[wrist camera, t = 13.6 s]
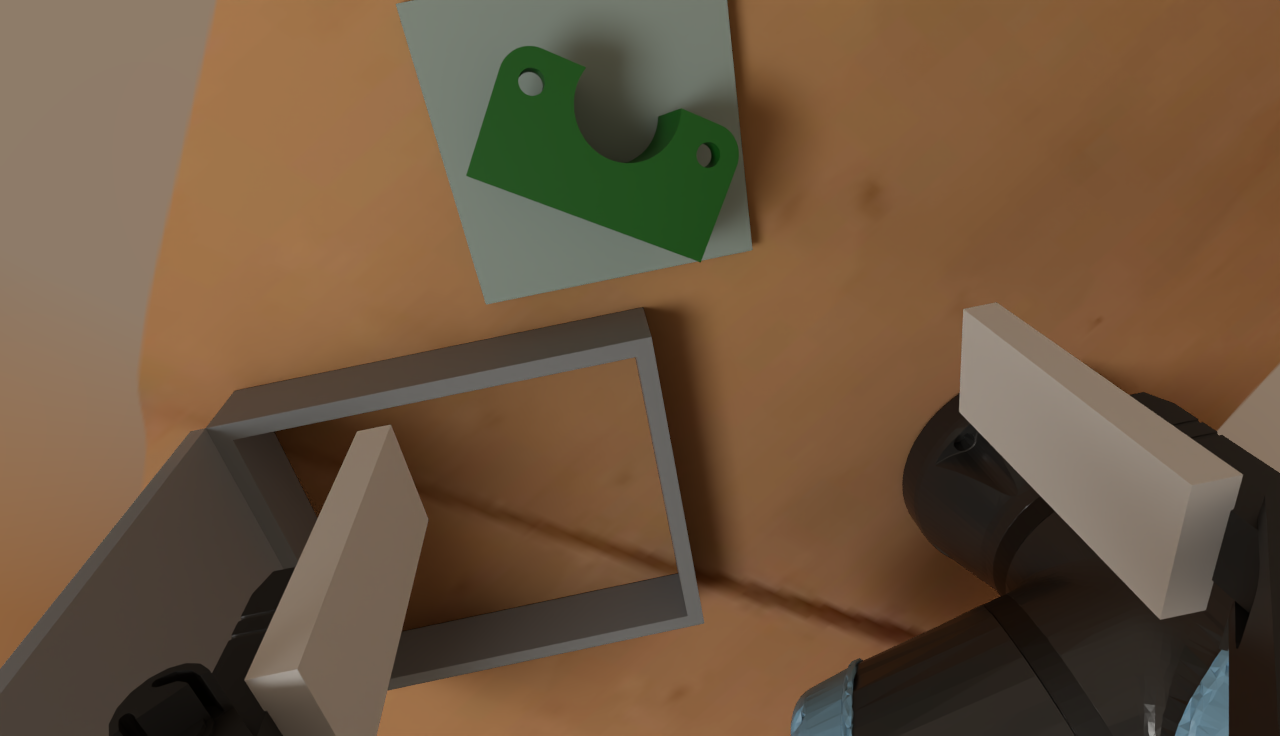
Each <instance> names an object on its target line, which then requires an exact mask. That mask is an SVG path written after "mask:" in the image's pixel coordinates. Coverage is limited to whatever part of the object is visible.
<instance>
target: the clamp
mask: <svg viewBox="0 0 1280 736" xmlns="http://www.w3.org/2000/svg"><path fill="white" fill-rule="evenodd" d="M585 68H586V67H584V66H582V65H579V64H577V63H575V62H572V61H570V60H568V59H565V58H563V57H561V56H559V55H556V54H554V53H552V52H549V51H547V50H545V49H542V48H539V47H536V46H523V47H519V48H517V49H515V50H513V51H512V52H510V53H509V54H508V55H507V56H506V57H505V58H504V60H503V61H502V63H501V66H500V68H499V71H498V75H497V78H496V81H495V84H494V88H493V91H492V94H491V97H490V100H489V104H488V107H487V110H486V113H485V116H484V120H483V123H482V126H481V129H480V132H479V136H478V139H477V142H476V145H475V149H474V152H473V155H472V158H471V161H470V165H469V168H468V171H467V174H466V176H468V177H470V178H473V179H476V180H479V181H481V182H484V183H487V184H489V185H492V186H495V187H498V188H500V189H503V190H506V191H508V192H511V193H514V194H517V195H519V196H522V197H525V198H527V199H530V200H533V201H535V202H538V203H541V204H544V205H546V206H549V207H552V208H554V209H557V210H560V211H563V212H565V213H568V214H571V215H573V216H576V217H579V218H582V219H584V220H587V221H590V222H592V223H595V224H598V225H601V226H603V227H606V228H609V229H611V230H614V231H617V232H620V233H622V234H625V235H628V236H630V237H633V238H636V239H639V240H641V241H644V242H647V243H649V244H652V245H655V246H658V247H660V248H663V249H666V250H668V251H671V252H674V253H677V254H679V255H682V256H685V257H687V258H690V259H693V260H695V261H698V262H701V260H702V258H703V255H704V252H705V250H706V247H707V244H708V242H709V239H710V236H711V234H712V231H713V229H714V226H715V223H716V221H717V218H718V215H719V213H720V210H721V207H722V205H723V202H724V199H725V197H726V194H727V191H728V189H729V186H730V183H731V181H732V178H733V175H734V173H735V170H736V167H737V164H738V160H739V149H738V145H737V142H736V140H735V138H734V136H733V135H732V133H731V132H730V131H729V130H728V129H726V128H725V127H723V126H721V125H719V124H717V123H715V122H712V121H710V120H708V119H705V118H703V117H701V116H698V115H696V114H694V113H691V112H689V111H687V110H684V109H682V108H680V109H678V110H675V111H672V112H669V113H667V114H664V115H661V116H658V123H657V128H656V132H655V135H654V137H653V139H652V141H651V143H650V144H649V146H648V147H647V148H646V150H645V151H644V152H643V153H642V154H640V155H639V156H638V157H636V158H635V159H633V160H631V161H629V162H626V163H621V162H616V161H613V160H610V159H608V158H606V157H604V156H602V155H600V154H599V153H598V152H596V151H595V150H594V149H593V148H592V147H591V146H590V145H589V144H588V143H587V142H586V140H585V139H584V137H583V136H582V134H581V132H580V130H579V127H578V125H577V122H576V118H575V112H574V95H575V90H576V87H577V83H578V81H579V79H580V77H581V75H582V73H583V71H584V70H585ZM526 72H532V73H535V74H536V75H538V76H539V77H540V79H541V81H542V84H543V89H542V92H541V93H540V94H538V95H535V96H530V95H527V94H525V93H524V92H523V91H522V90H521V89H520V87H519V84H518V79H519V77H520V76H521V75H522V74H523V73H526ZM702 144H705V145H706V146H707V147H708V148H709V149H710V151H711V160H710V162H709V164H708V165H707V166H705V167H703V166H701V165H700V164H699V162H698V160H697V156H696V154H697V150H698V148H699V147H700V145H702Z"/></svg>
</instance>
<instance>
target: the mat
mask: <svg viewBox="0 0 1280 736" xmlns="http://www.w3.org/2000/svg"><path fill="white" fill-rule="evenodd" d="M396 6H397V10H398V13H399V16H400V20H401V23H402V26H403V30H404V33H405V36H406V40H407V43H408V46H409V50H410V53H411V56H412V60H413V63H414V66H415V70H416V73H417V76H418V80H419V83H420V86H421V90H422V93H423V96H424V100H425V103H426V106H427V110H428V113H429V116H430V120H431V123H432V126H433V130H434V133H435V136H436V140H437V143H438V146H439V150H440V153H441V156H442V160H443V163H444V166H445V169H446V173H447V176H448V179H449V183H450V186H451V189H452V193H453V196H454V199H455V203H456V206H457V209H458V213H459V216H460V219H461V223H462V226H463V229H464V233H465V236H466V239H467V243H468V246H469V249H470V253H471V256H472V259H473V263H474V266H475V269H476V273H477V276H478V279H479V283H480V286H481V289H482V293H483V296H484V299H485V303H486V304H491V303H496V302H501V301H505V300H510V299H515V298H520V297H525V296H530V295H535V294H540V293H545V292H550V291H554V290H559V289H564V288H569V287H574V286H579V285H584V284H589V283H594V282H599V281H604V280H608V279H613V278H618V277H623V276H628V275H633V274H638V273H643V272H648V271H653V270H657V269H662V268H667V267H672V266H677V265H682V264H687V263H692V262H697V261H695V260H693V259H690V258H687V257H685V256H682V255H679V254H677V253H674V252H671V251H668V250H666V249H663V248H660V247H658V246H655V245H652V244H649V243H647V242H644V241H641V240H639V239H636V238H633V237H630V236H628V235H625V234H622V233H620V232H617V231H614V230H611V229H609V228H606V227H603V226H601V225H598V224H595V223H592V222H590V221H587V220H584V219H582V218H579V217H576V216H573V215H571V214H568V213H565V212H563V211H560V210H557V209H554V208H552V207H549V206H546V205H544V204H541V203H538V202H535V201H533V200H530V199H527V198H525V197H522V196H519V195H517V194H514V193H511V192H508V191H506V190H503V189H500V188H498V187H495V186H492V185H489V184H487V183H484V182H481V181H479V180H476V179H473V178H470V177H468V176H466V174H467V171H468V168H469V165H470V161H471V158H472V155H473V152H474V149H475V145H476V142H477V139H478V136H479V132H480V129H481V126H482V123H483V120H484V116H485V113H486V110H487V107H488V104H489V100H490V97H491V94H492V91H493V88H494V84H495V81H496V78H497V75H498V71H499V68H500V66H501V63H502V61H503V60H504V58H505V57H506V56H507V55H508V54H509V53H510V52H512V51H513V50H515V49H517V48H519V47H523V46H536V47H539V48H542V49H545V50H547V51H549V52H552V53H554V54H556V55H559V56H561V57H563V58H565V59H568V60H570V61H572V62H575V63H577V64H579V65H582V66H584V67H586V68H585V70H584V71H583V73H582V75H581V77H580V79H579V81H578V83H577V87H576V90H575V95H574V112H575V118H576V122H577V125H578V127H579V130H580V132H581V134H582V136H583V137H584V139H585V140H586V142H587V143H588V144H589V145H590V146H591V147H592V148H593V149H594V150H595V151H596V152H598V153H599V154H600V155H602V156H604V157H606V158H608V159H610V160H613V161H616V162H621V163H626V162H629V161H631V160H633V159H635V158H636V157H638V156H639V155H640V154H642V153H643V152H644V151H645V150H646V148H647V147H648V146H649V144H650V143H651V141H652V139H653V137H654V135H655V132H656V128H657V123H658V116H661V115H664V114H667V113H669V112H672V111H675V110H678V109H680V108H682V109H684V110H687V111H689V112H691V113H694V114H696V115H698V116H701V117H703V118H705V119H708V120H710V121H712V122H715V123H717V124H719V125H721V126H723V127H725V128H726V129H728V130H729V131H730V132H731V133H732V135H733V136H734V138H735V140H736V142H737V145H738V149H739V160H738V164H737V167H736V170H735V173H734V175H733V178H732V181H731V183H730V186H729V189H728V191H727V194H726V197H725V199H724V202H723V205H722V207H721V210H720V213H719V215H718V218H717V221H716V223H715V226H714V229H713V231H712V234H711V236H710V239H709V242H708V244H707V247H706V250H705V252H704V255H703V258H702V260H706V259H711V258H716V257H721V256H726V255H731V254H736V253H741V252H746V251H751V250H752V241H751V231H750V221H749V211H748V202H747V192H746V182H745V172H744V162H743V153H742V143H741V133H740V123H739V113H738V103H737V94H736V84H735V74H734V64H733V54H732V45H731V35H730V25H729V15H728V5H727V0H413V1H408V2H403V3H398V4H396ZM518 84H519V87H520V89H521V90H522V91H523V92H524V93H525V94H527V95H530V96H535V95H538V94H540V93H541V92H542V89H543V84H542V81H541V79H540V77H539V76H538V75H536V74H535V73H532V72H526V73H523V74H522V75H521V76H520V77H519V79H518ZM696 156H697V160H698V162H699V164H700V165H701V166H703V167H705V166H707V165H708V164H709V162H710V160H711V151H710V149H709V148H708V147H707V146H706V145H705V144H702V145H700V147H699V148H698V150H697V154H696ZM702 260H701V261H702Z"/></svg>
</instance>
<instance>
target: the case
mask: <svg viewBox="0 0 1280 736" xmlns="http://www.w3.org/2000/svg"><path fill="white" fill-rule="evenodd" d="M634 357H635V358H636V363H637V368H638V373H639V378H640V383H641V388H642V393H643V398H644V403H645V408H646V413H647V418H648V423H649V428H650V433H651V438H652V443H653V448H654V453H655V458H656V464H657V469H658V474H659V479H660V484H661V489H662V494H663V499H664V504H665V509H666V514H667V519H668V524H669V529H670V534H671V539H672V544H673V549H674V554H675V559H676V564H677V569H678V574H673V575H669V576H664V577H659V578H654V579H650V580H645V581H640V582H635V583H631V584H626V585H621V586H616V587H612V588H607V589H602V590H597V591H593V592H588V593H583V594H578V595H574V596H569V597H564V598H559V599H555V600H550V601H545V602H540V603H536V604H531V605H526V606H521V607H517V608H512V609H507V610H502V611H498V612H493V613H488V614H484V615H479V616H474V617H469V618H465V619H460V620H455V621H450V622H446V623H441V624H436V625H431V626H427V627H422V628H417V629H412V630H408V631H403V632H401V636H400V640H399V644H398V648H397V652H396V657H395V661H394V665H393V669H392V673H391V677H390V681H389V686H388V690H392V689H397V688H401V687H406V686H411V685H416V684H420V683H425V682H430V681H434V680H439V679H444V678H449V677H453V676H458V675H463V674H467V673H472V672H477V671H482V670H486V669H491V668H496V667H500V666H505V665H510V664H515V663H519V662H524V661H529V660H533V659H538V658H543V657H548V656H552V655H557V654H562V653H567V652H571V651H576V650H581V649H585V648H590V647H595V646H600V645H604V644H609V643H614V642H618V641H623V640H628V639H633V638H637V637H642V636H647V635H651V634H656V633H661V632H666V631H670V630H675V629H680V628H684V627H689V626H694V625H699V624H703V623H704V619H703V614H702V609H701V603H700V598H699V592H698V587H697V581H696V576H695V571H694V565H693V560H692V554H691V549H690V543H689V538H688V533H687V527H686V522H685V516H684V511H683V505H682V500H681V494H680V489H679V484H678V478H677V473H676V467H675V462H674V456H673V451H672V446H671V440H670V435H669V429H668V424H667V418H666V413H665V408H664V402H663V397H662V391H661V386H660V380H659V375H658V370H657V364H656V359H655V353H654V348H653V342H652V337H651V333H650V330H649V327H648V323H647V320H646V316H645V313H644V309H643V307H642V308H637V309H632V310H627V311H623V312H618V313H613V314H608V315H603V316H598V317H593V318H588V319H583V320H579V321H574V322H569V323H564V324H559V325H554V326H549V327H544V328H540V329H535V330H530V331H525V332H520V333H515V334H510V335H505V336H500V337H496V338H491V339H486V340H481V341H476V342H471V343H466V344H461V345H456V346H452V347H447V348H442V349H437V350H432V351H427V352H422V353H417V354H413V355H408V356H403V357H398V358H393V359H388V360H383V361H378V362H373V363H369V364H364V365H359V366H354V367H349V368H344V369H339V370H334V371H329V372H325V373H320V374H315V375H310V376H305V377H300V378H295V379H290V380H286V381H281V382H276V383H271V384H266V385H261V386H256V387H251V388H246V389H242V390H237V391H234V392H233V394H232V395H231V396H230V397H229V399H228V400H227V401H226V403H225V404H224V405H223V407H222V408H221V409H220V410H219V412H218V413H217V414H216V416H215V417H214V418H213V419H212V421H211V422H210V423H209V425H208V426H207V427H206V428H205V429H200V430H195V431H191V432H190V433H189V434H188V435H187V437H186V438H185V439H184V440H183V442H182V443H181V444H180V445H179V447H178V448H177V449H176V450H175V452H174V453H173V454H172V455H171V457H170V458H169V459H168V460H167V462H166V463H165V464H164V465H163V466H162V468H161V469H160V470H159V471H158V473H157V474H156V475H155V476H154V478H153V479H152V480H151V481H150V483H149V484H148V485H147V486H146V488H145V489H144V490H143V491H142V493H141V494H140V495H139V496H138V498H137V499H136V500H135V501H134V503H133V504H132V505H131V507H130V508H129V509H128V510H127V512H126V513H125V514H124V515H123V516H122V518H121V519H120V520H119V522H118V523H117V524H116V525H115V526H114V528H113V529H112V530H111V531H110V533H109V534H108V535H107V536H106V538H105V539H104V540H103V542H102V543H101V544H100V545H99V546H98V548H97V549H96V550H95V551H94V553H93V554H92V555H91V556H90V558H89V559H88V560H87V561H86V563H85V564H84V565H83V566H82V568H81V569H80V570H79V572H78V573H77V574H76V575H75V576H74V578H73V579H72V580H71V581H70V583H69V584H68V585H67V586H66V588H65V589H64V590H63V591H62V593H61V594H60V595H59V596H58V598H57V599H56V600H55V601H54V603H53V604H52V605H51V606H50V608H49V609H48V610H47V611H46V612H45V614H44V615H43V616H42V618H41V619H40V620H39V621H38V622H37V624H36V625H35V626H34V627H33V629H32V630H31V631H30V633H29V634H28V635H27V636H26V638H25V639H24V640H23V641H22V642H21V644H20V645H19V646H18V647H17V649H16V650H15V651H14V653H13V654H12V655H11V656H10V658H9V659H8V660H7V661H6V663H5V664H4V665H3V666H2V667H1V669H0V736H109V723H110V721H111V719H112V717H113V715H114V713H115V711H116V709H117V707H118V706H119V705H120V704H121V703H122V702H123V701H124V699H125V698H126V697H127V696H128V695H129V694H130V693H131V692H132V691H133V690H134V689H136V688H137V687H138V686H140V685H141V684H142V683H143V682H145V681H146V680H147V679H149V678H150V677H152V676H154V675H156V674H158V673H160V672H162V671H164V670H166V669H167V668H170V667H174V666H177V665H181V664H184V663H199V664H202V665H203V666H205V667H206V668H208V669H209V670H210V671H211V673H212V672H213V670H214V668H215V666H216V664H217V662H218V660H219V658H220V656H221V654H222V652H223V650H224V648H225V647H226V645H227V643H228V641H229V640H231V639H232V637H231V635H232V633H233V631H234V629H235V627H236V625H237V623H238V621H241V615H242V613H243V611H244V609H245V607H246V605H247V603H248V601H249V599H250V597H251V595H252V593H253V592H254V591H255V590H256V589H257V588H258V587H259V586H260V585H261V584H262V583H263V582H264V581H265V580H266V579H267V577H268V576H269V575H270V574H271V573H272V572H273V571H277V570H282V569H287V568H292V567H296V565H297V563H298V561H299V558H300V556H301V554H302V552H303V550H304V547H305V545H306V543H307V541H308V539H309V536H310V534H311V532H312V530H313V528H314V525H315V523H316V521H317V519H318V518H317V516H316V514H315V512H314V510H313V508H312V506H311V504H310V502H309V500H308V498H307V497H306V495H305V493H304V491H303V489H302V487H301V485H300V483H299V481H298V479H297V477H296V475H295V473H294V471H293V469H292V467H291V465H290V463H289V461H288V459H287V457H286V455H285V453H284V451H283V449H282V447H281V445H280V443H279V441H278V439H277V437H276V435H275V433H274V431H279V430H284V429H289V428H293V427H298V426H303V425H308V424H313V423H318V422H323V421H327V420H332V419H337V418H342V417H347V416H352V415H357V414H361V413H366V412H371V411H376V410H381V409H386V408H391V407H395V406H400V405H405V404H410V403H415V402H420V401H425V400H429V399H434V398H439V397H444V396H449V395H454V394H459V393H463V392H468V391H473V390H478V389H483V388H488V387H493V386H497V385H502V384H507V383H512V382H517V381H522V380H527V379H531V378H536V377H541V376H546V375H551V374H556V373H561V372H566V371H570V370H575V369H580V368H585V367H590V366H595V365H600V364H604V363H609V362H614V361H619V360H624V359H629V358H634Z"/></svg>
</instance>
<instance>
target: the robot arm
mask: <svg viewBox="0 0 1280 736" xmlns="http://www.w3.org/2000/svg"><path fill="white" fill-rule="evenodd" d="M903 496H904V501H905V504H906V507H907V509H908V511H909V514H910V515H911V517H912V518H913V520H914V521H915V523H916V524H917V526H918V527H919V529H920V530H921V532H922V533H923V535H924V536H925V537H926V538H927V540H928V541H929V542H930V543H931V544H932V545H933V546H934V547H935V548H936V549H937V550H939V551H940V552H941V553H943V554H944V555H946V556H948V557H950V558H951V559H953V560H955V561H956V562H957V563H959V564H960V565H961V566H963V567H964V568H966V569H967V570H968V571H970V572H971V573H972V574H974V575H975V576H977V577H978V578H979V579H981V580H982V581H984V582H985V583H987V584H988V585H990V586H991V587H993V588H994V589H995V590H997V592H998V593H999V594H1000V596H1001V597H999V598H997V599H995V600H992V601H990V602H988V603H986V604H984V605H981V606H979V607H976V608H974V609H972V610H970V611H968V612H966V613H964V614H962V615H960V616H958V617H956V618H954V619H952V620H950V621H948V622H946V623H944V624H942V625H940V626H938V627H935V628H933V629H931V630H929V631H927V632H925V633H922V634H920V635H918V636H916V637H914V638H912V639H909V640H907V641H905V642H903V643H901V644H899V645H897V646H894V647H892V648H890V649H888V650H886V651H884V652H881V653H879V654H877V655H875V656H873V657H871V658H868V659H866V660H864V661H863V660H861V659H860V658H859V659H857V660H854V661H852V662H851V663H850V665H849V667H848V668H847V669H845V670H843V671H841V672H840V673H838V674H836V675H834V676H832V677H830V678H829V679H827V680H825V681H823V682H821V683H819V684H818V685H816V686H814V687H812V688H810V689H809V690H807V691H806V692H805V693H804V694H803V695H802V696H801V697H800V699H799V700H798V702H797V704H796V706H795V709H794V711H793V715H792V721H791V736H1280V473H1279V472H1277V471H1276V470H1274V469H1273V468H1271V467H1270V466H1268V465H1267V464H1265V463H1264V462H1262V461H1261V460H1259V459H1257V458H1256V457H1254V456H1253V455H1252V454H1250V453H1248V452H1247V451H1246V450H1244V449H1243V448H1241V447H1240V446H1238V445H1236V444H1235V443H1233V442H1232V441H1230V440H1229V439H1227V438H1226V437H1224V436H1223V435H1220V436H1219V435H1218V434H1217V431H1215V430H1214V429H1212V428H1211V427H1209V426H1208V425H1206V424H1205V423H1203V422H1201V423H1199V421H1198V419H1197V418H1196V417H1194V416H1193V415H1191V414H1190V413H1188V412H1187V411H1185V410H1184V409H1182V408H1181V407H1179V406H1177V405H1176V404H1174V403H1172V402H1169V401H1166V400H1163V399H1161V398H1158V397H1155V396H1153V395H1150V394H1147V393H1144V392H1142V393H1137V394H1132V395H1128V394H1127V393H1125V392H1124V391H1123V390H1121V389H1120V388H1118V387H1117V386H1115V385H1114V384H1113V383H1111V382H1110V381H1108V380H1107V379H1105V378H1104V377H1103V376H1101V375H1100V374H1098V373H1097V372H1095V371H1094V370H1093V369H1091V368H1090V367H1088V366H1087V365H1085V364H1084V363H1083V362H1081V361H1080V360H1078V359H1077V358H1075V357H1074V356H1072V355H1071V354H1070V353H1068V352H1067V351H1065V350H1064V349H1062V348H1061V347H1060V346H1058V345H1057V344H1055V343H1054V342H1052V341H1051V340H1050V339H1048V338H1047V337H1045V336H1044V335H1042V334H1041V333H1040V332H1038V331H1037V330H1035V329H1034V328H1032V327H1031V326H1030V325H1028V324H1027V323H1025V322H1024V321H1022V320H1021V319H1020V318H1018V317H1017V316H1015V315H1014V314H1012V313H1011V312H1009V311H1008V310H1007V309H1005V308H1004V307H1002V306H1001V305H999V304H998V303H997V302H996V303H991V304H986V305H981V306H976V307H971V308H966V309H963V331H962V354H961V376H960V394H959V395H958V396H956V397H955V398H953V399H952V400H951V401H950V402H948V403H947V404H946V405H945V406H944V407H943V408H942V409H940V410H939V411H938V412H937V413H936V414H935V415H934V416H933V418H932V419H931V420H930V421H929V422H928V423H927V425H926V426H925V427H924V429H923V430H922V431H921V433H920V434H919V436H918V437H917V439H916V441H915V443H914V444H913V446H912V448H911V451H910V453H909V455H908V458H907V461H906V464H905V469H904V474H903ZM428 520H429V519H428V517H427V514H426V512H425V509H424V507H423V504H422V502H421V499H420V497H419V494H418V492H417V489H416V487H415V484H414V481H413V479H412V476H411V474H410V471H409V469H408V466H407V464H406V461H405V459H404V456H403V454H402V451H401V449H400V446H399V444H398V441H397V439H396V436H395V434H394V431H393V429H392V426H391V425H386V426H381V427H376V428H371V429H366V430H361V431H357V433H356V435H355V437H354V439H353V442H352V444H351V446H350V448H349V450H348V453H347V455H346V457H345V459H344V461H343V464H342V466H341V468H340V470H339V472H338V475H337V477H336V479H335V481H334V483H333V486H332V488H331V490H330V492H329V494H328V497H327V499H326V501H325V503H324V505H323V508H322V510H321V512H320V514H319V517H318V519H317V521H316V523H315V525H314V528H313V530H312V532H311V534H310V536H309V539H308V541H307V543H306V545H305V547H304V550H303V552H302V554H301V556H300V558H299V561H298V563H297V565H296V567H292V568H287V569H282V570H277V571H273V572H272V573H271V574H270V575H269V576H268V577H267V579H266V580H265V581H264V582H263V583H262V584H261V585H260V586H259V587H258V588H257V589H256V590H255V591H254V592H253V593H252V595H251V597H250V599H249V601H248V603H247V605H246V607H245V609H244V611H243V613H242V615H241V621H238V623H237V625H236V627H235V629H234V631H233V633H232V635H231V637H232V639H231V640H229V641H228V643H227V645H226V647H225V648H224V650H223V652H222V654H221V656H220V658H219V660H218V662H217V664H216V666H215V668H214V670H213V672H212V673H211V671H210V670H209V669H208V668H206V667H205V666H203V665H202V664H199V663H184V664H181V665H177V666H174V667H170V668H167V669H166V670H164V671H162V672H160V673H158V674H156V675H154V676H152V677H150V678H149V679H147V680H146V681H145V682H143V683H142V684H141V685H140V686H138V687H137V688H136V689H134V690H133V691H132V692H131V693H130V694H129V695H128V696H127V697H126V698H125V699H124V701H123V702H122V703H121V704H120V705H119V706H118V707H117V709H116V711H115V713H114V715H113V717H112V719H111V721H110V723H109V736H376V735H377V731H378V727H379V723H380V719H381V715H382V710H383V706H384V702H385V698H386V694H387V690H388V686H389V681H390V677H391V673H392V669H393V665H394V661H395V657H396V652H397V648H398V644H399V640H400V636H401V632H402V628H403V623H404V619H405V615H406V611H407V607H408V603H409V599H410V594H411V590H412V586H413V582H414V578H415V574H416V570H417V565H418V561H419V557H420V553H421V549H422V545H423V541H424V536H425V532H426V528H427V524H428Z"/></svg>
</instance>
